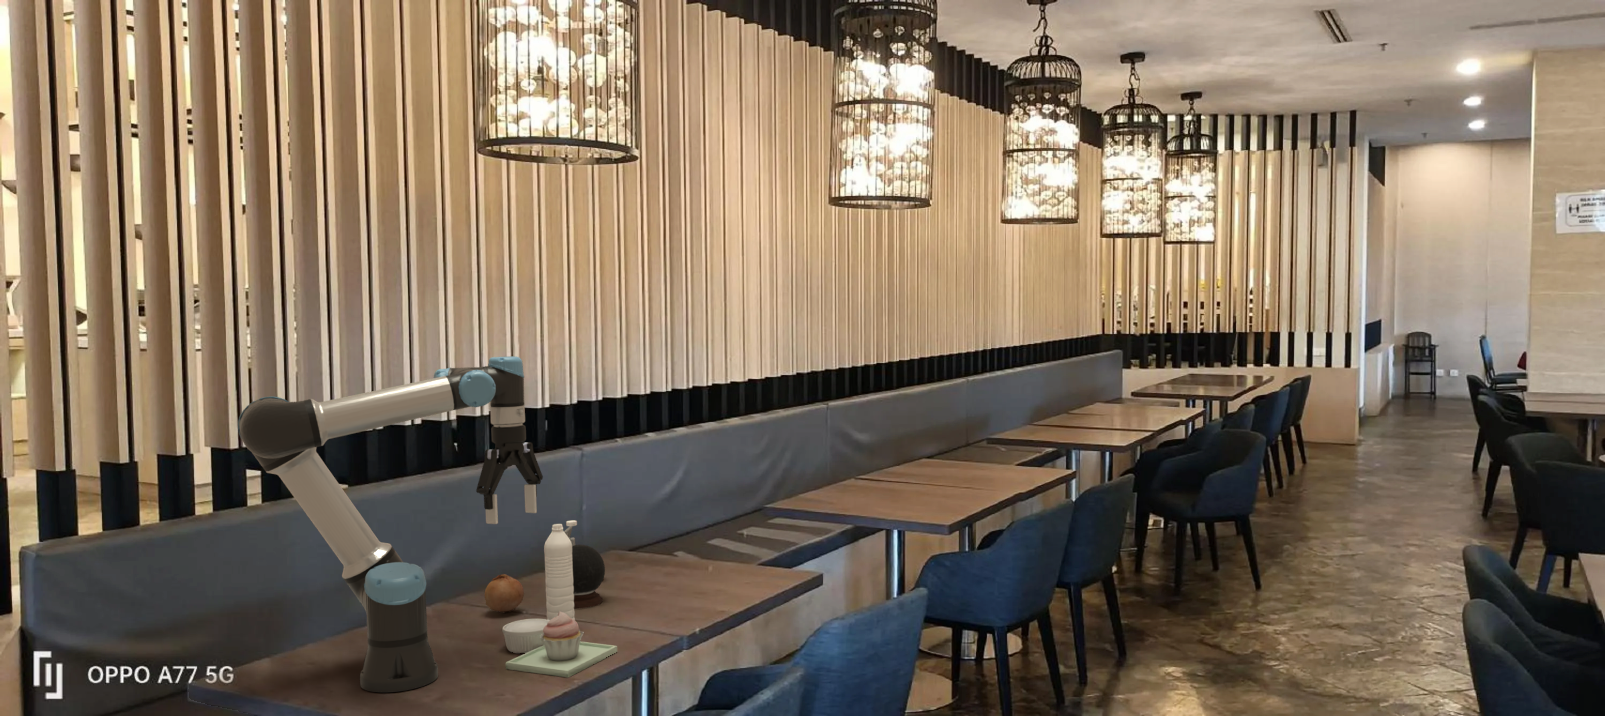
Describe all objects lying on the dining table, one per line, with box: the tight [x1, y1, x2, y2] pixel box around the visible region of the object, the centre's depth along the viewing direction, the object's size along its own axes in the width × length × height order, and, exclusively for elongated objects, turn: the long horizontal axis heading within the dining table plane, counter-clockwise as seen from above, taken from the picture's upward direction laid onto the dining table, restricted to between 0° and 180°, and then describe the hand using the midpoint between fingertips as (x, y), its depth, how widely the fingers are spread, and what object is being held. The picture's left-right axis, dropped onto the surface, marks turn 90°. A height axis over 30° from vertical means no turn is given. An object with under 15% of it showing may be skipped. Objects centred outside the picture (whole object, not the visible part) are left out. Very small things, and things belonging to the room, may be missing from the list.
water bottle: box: [543, 519, 578, 621], centre depth 271 cm, size 9×6×25 cm
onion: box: [484, 573, 525, 614], centre depth 285 cm, size 10×9×10 cm
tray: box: [505, 640, 618, 678], centre depth 246 cm, size 18×16×1 cm
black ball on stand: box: [572, 544, 606, 610], centre depth 294 cm, size 13×13×15 cm
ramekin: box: [501, 618, 550, 654], centre depth 256 cm, size 11×11×5 cm
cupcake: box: [540, 611, 585, 661], centre depth 246 cm, size 9×9×10 cm
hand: (512, 518), depth 259 cm, fingers open, 13 cm apart
